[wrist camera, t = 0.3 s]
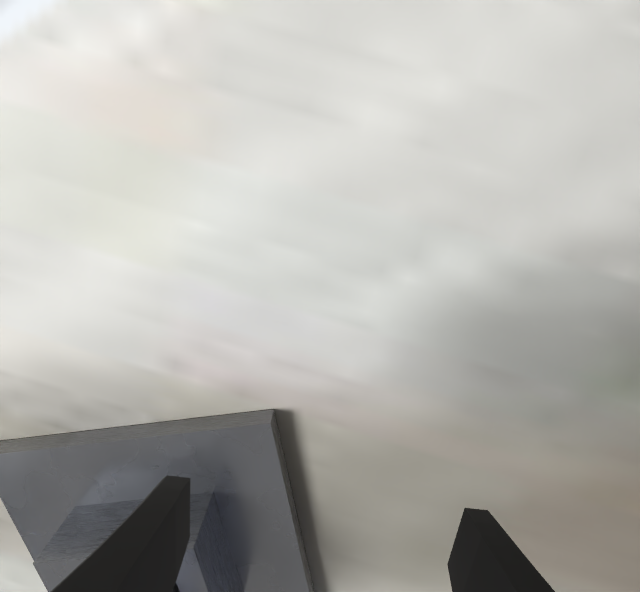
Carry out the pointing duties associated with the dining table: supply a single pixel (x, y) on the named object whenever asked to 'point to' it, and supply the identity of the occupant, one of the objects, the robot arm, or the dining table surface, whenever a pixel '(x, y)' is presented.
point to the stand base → (142, 477)
